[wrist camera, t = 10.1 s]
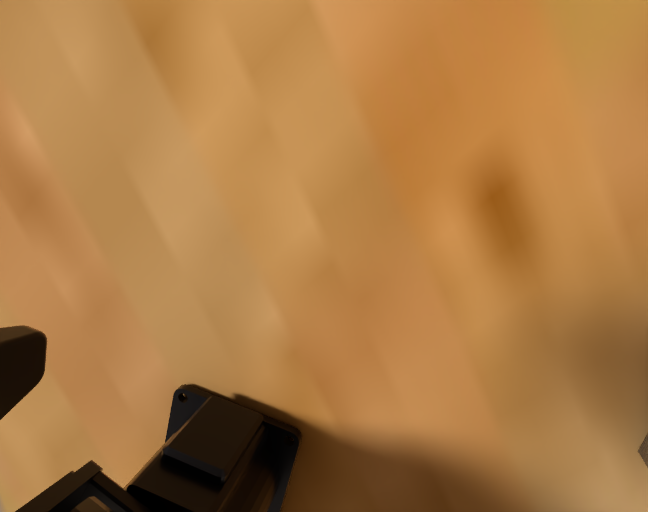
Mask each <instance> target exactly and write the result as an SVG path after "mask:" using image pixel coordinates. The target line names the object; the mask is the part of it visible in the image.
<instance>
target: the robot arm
mask: <svg viewBox="0 0 648 512" xmlns="http://www.w3.org/2000/svg"><path fill="white" fill-rule="evenodd" d="M46 348H47V338H46V335H45V334H44V333H43V332H41V331H39V330H36V329H34V328H31V327H28V326H13V327H5V328H0V420H1V419H2V418H3V417H4V416H5V415H6V414H7V413H8V412H9V411H10V410H11V409H12V408H13V407H14V406H15V405H16V404H17V403H18V402H20V401H21V400H22V399H23V398H24V397H25V396H26V395H27V394H28V393H29V392H30V391H31V390H32V389H33V388H34V387H35V386H36V385H37V384H38V383H39V382H40V380H41V379H42V377H43V375H44V371H45V361H46ZM183 393H184V394H185V395H186V396H187V397H188V398H186V397H184V395H183ZM287 436H290V437H292V438H293V440H294V441H292V440H289V439H288V438H287ZM301 440H302V435H301V433H300V431H299V430H298V429H296V428H295V427H293V426H290V425H288V424H285V423H283V422H280V421H278V420H275V419H273V418H270V417H268V416H265V415H263V414H260V413H257V412H255V411H252V410H250V409H247V408H245V407H242V406H240V405H237V404H235V403H232V402H230V401H227V400H225V399H222V398H220V397H217V396H215V395H212V394H210V393H207V392H205V391H202V390H200V389H197V388H195V387H192V386H190V385H186V384H185V385H181V386H180V387H179V388H178V389H177V390H176V391H175V392H174V395H173V401H172V407H171V412H170V418H169V423H168V429H167V435H166V440H165V444H164V445H163V446H162V447H161V448H160V449H159V450H158V451H157V452H156V454H155V455H154V456H153V457H152V458H151V459H150V460H149V461H148V462H147V463H146V464H145V466H144V467H143V468H142V469H141V470H140V471H139V472H138V473H137V474H136V475H135V476H134V478H133V479H132V480H131V481H130V482H129V483H128V484H127V485H126V486H125V487H124V488H122V487H121V486H119V485H118V484H117V483H116V482H114V481H113V480H112V479H111V478H109V477H108V476H107V475H105V474H104V473H103V472H102V470H103V469H102V468H101V467H100V466H99V465H97V464H96V463H95V462H93V461H92V460H91V461H90V462H88V463H87V464H86V465H84V466H83V467H81V468H80V469H79V470H77V471H76V472H73V471H71V472H70V473H68V474H67V475H66V476H64V477H63V478H61V479H60V480H59V481H57V482H56V483H54V484H53V485H52V486H50V487H49V488H47V489H46V490H45V491H43V492H42V493H41V494H39V495H38V496H36V497H35V498H34V499H32V500H31V501H29V502H28V503H27V504H25V505H24V506H22V507H21V508H20V509H18V510H17V511H15V512H281V509H282V506H283V502H284V499H285V495H286V492H287V488H288V485H289V481H290V478H291V475H292V471H293V468H294V464H295V461H296V457H297V454H298V450H299V447H300V444H301Z"/></svg>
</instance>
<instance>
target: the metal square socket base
mask: <svg viewBox="0 0 648 512" xmlns="http://www.w3.org/2000/svg"><path fill="white" fill-rule="evenodd" d="M638 452H639V454H640V455H641V457H642V459H643V461H644V462H645V464H646V466H647V467H648V435H647V436H646V438H645V440H644V442H643V443H642V445H641V447H640V449H639V450H638Z"/></svg>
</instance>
